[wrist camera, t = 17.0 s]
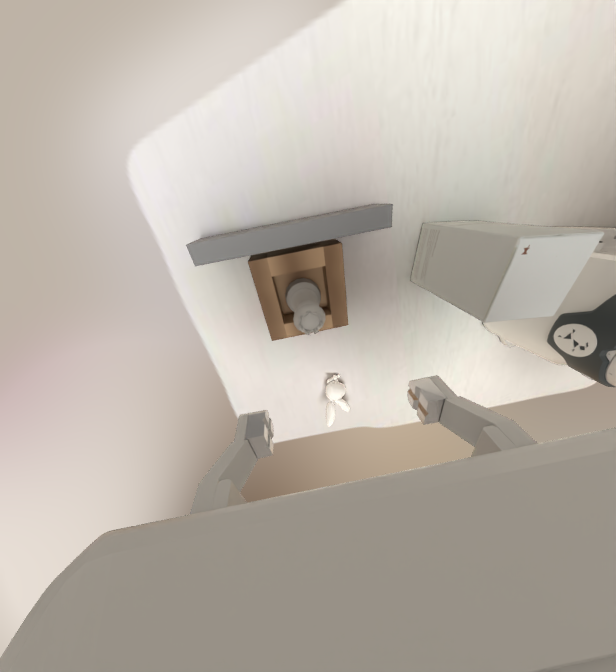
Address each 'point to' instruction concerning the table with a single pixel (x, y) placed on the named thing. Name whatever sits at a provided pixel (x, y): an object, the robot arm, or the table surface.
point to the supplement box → (501, 266)
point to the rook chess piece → (305, 305)
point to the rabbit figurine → (335, 398)
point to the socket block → (296, 263)
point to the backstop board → (290, 233)
